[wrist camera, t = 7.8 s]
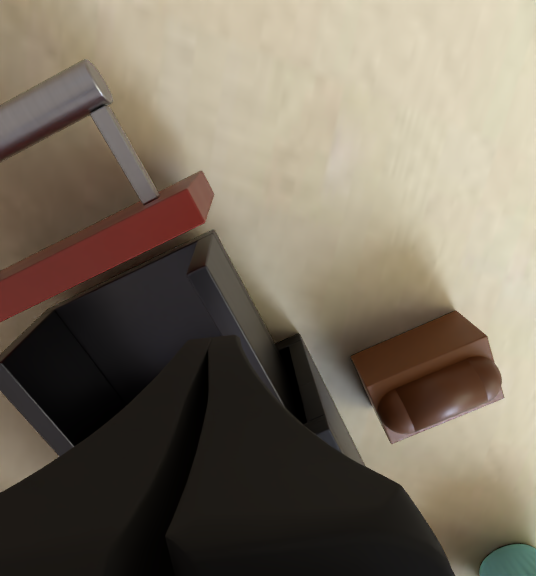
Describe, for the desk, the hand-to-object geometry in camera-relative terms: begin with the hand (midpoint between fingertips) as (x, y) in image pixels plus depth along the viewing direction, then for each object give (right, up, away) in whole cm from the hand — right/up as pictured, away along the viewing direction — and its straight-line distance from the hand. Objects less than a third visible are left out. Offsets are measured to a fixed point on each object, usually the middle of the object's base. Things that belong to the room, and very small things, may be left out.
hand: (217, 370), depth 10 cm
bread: (+10, -2, +13) cm, 16 cm away
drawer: (-5, +2, +9) cm, 10 cm away
